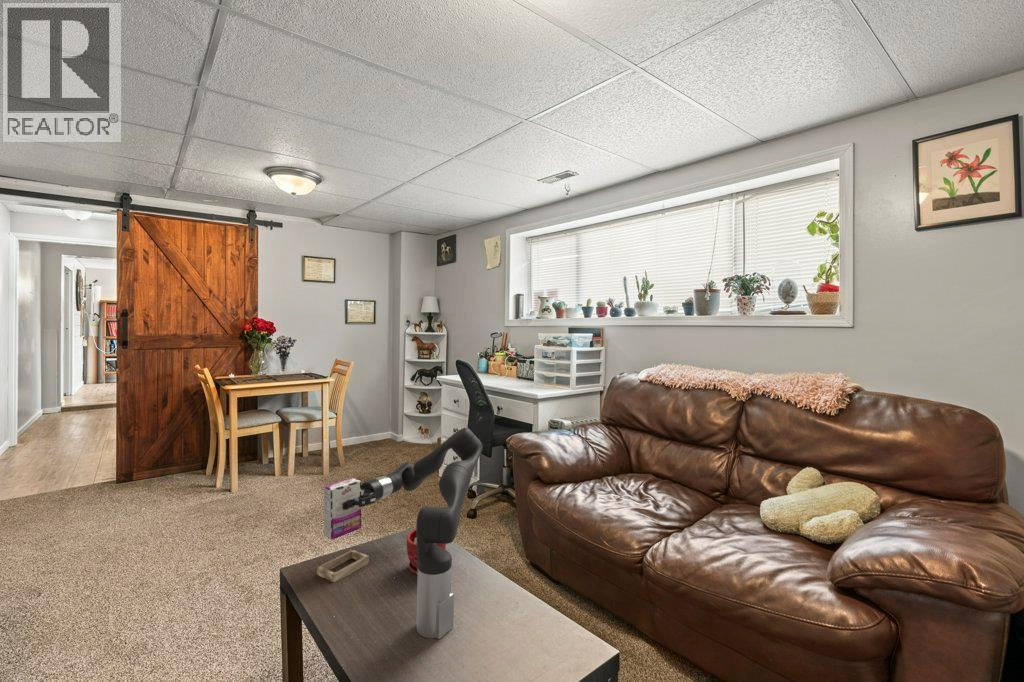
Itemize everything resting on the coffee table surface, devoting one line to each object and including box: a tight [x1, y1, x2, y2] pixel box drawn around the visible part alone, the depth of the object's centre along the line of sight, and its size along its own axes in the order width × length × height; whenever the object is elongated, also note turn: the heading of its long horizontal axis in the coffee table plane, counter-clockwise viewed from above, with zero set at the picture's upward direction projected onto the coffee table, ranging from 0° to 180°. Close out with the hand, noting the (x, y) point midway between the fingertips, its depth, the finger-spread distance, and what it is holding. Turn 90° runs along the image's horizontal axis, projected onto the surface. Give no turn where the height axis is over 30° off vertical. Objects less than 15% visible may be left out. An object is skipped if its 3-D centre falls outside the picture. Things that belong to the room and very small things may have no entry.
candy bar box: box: [323, 477, 362, 540], centre depth 156 cm, size 11×5×16 cm, turn 142°
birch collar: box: [316, 549, 370, 583], centre depth 159 cm, size 8×14×2 cm, turn 149°
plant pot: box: [406, 528, 447, 575], centre depth 160 cm, size 13×13×12 cm
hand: (337, 504), depth 154 cm, fingers closed on candy bar box, 5 cm apart
